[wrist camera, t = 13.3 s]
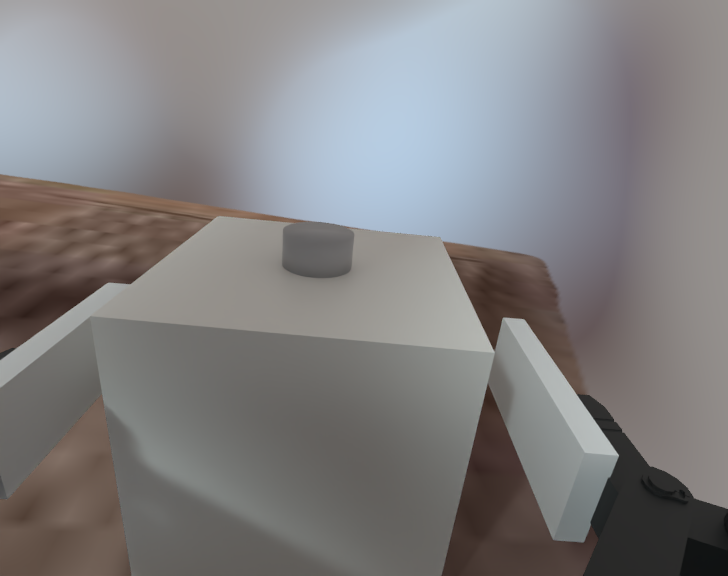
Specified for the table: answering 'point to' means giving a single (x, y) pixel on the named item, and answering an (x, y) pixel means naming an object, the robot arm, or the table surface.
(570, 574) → the table surface
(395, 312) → the box cover
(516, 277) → the table surface
